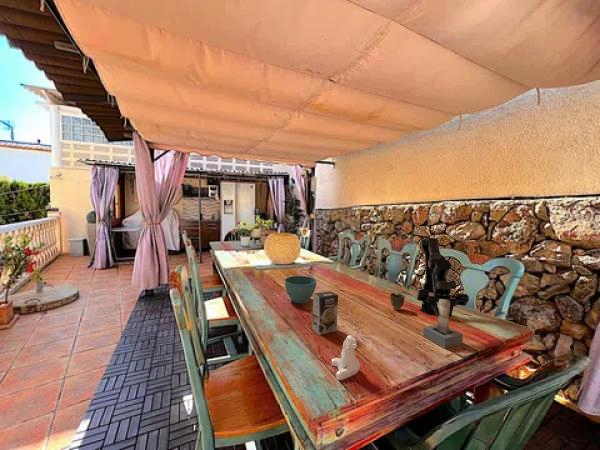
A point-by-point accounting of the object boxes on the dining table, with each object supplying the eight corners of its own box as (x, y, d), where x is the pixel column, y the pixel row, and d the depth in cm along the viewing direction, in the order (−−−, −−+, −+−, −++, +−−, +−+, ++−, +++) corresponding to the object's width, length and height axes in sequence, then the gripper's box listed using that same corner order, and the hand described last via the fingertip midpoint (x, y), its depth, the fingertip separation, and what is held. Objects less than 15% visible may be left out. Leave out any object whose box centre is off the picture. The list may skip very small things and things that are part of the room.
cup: (403, 308, 141) (404, 293, 140) (404, 313, 134) (405, 297, 133) (389, 306, 143) (390, 292, 143) (389, 311, 136) (390, 296, 136)
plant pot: (321, 299, 151) (322, 279, 150) (305, 309, 136) (306, 286, 135) (295, 293, 161) (296, 274, 160) (277, 302, 145) (278, 280, 145)
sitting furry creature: (330, 363, 88) (331, 328, 88) (354, 362, 89) (356, 328, 89) (336, 381, 79) (337, 343, 78) (364, 380, 80) (365, 342, 79)
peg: (438, 327, 109) (440, 298, 108) (449, 331, 106) (451, 301, 105) (435, 330, 106) (437, 300, 105) (446, 334, 103) (448, 303, 102)
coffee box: (319, 335, 108) (320, 297, 107) (311, 329, 113) (312, 292, 112) (337, 331, 112) (338, 294, 111) (329, 325, 118) (330, 290, 117)
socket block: (440, 332, 113) (440, 323, 112) (462, 343, 104) (462, 334, 103) (423, 336, 109) (423, 327, 109) (444, 348, 100) (445, 338, 99)
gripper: (419, 270, 111) (421, 304, 101) (469, 274, 106) (477, 311, 96) (416, 283, 119) (418, 316, 109) (462, 288, 114) (468, 323, 104)
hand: (444, 316), depth 104 cm, fingers closed on peg, 4 cm apart
